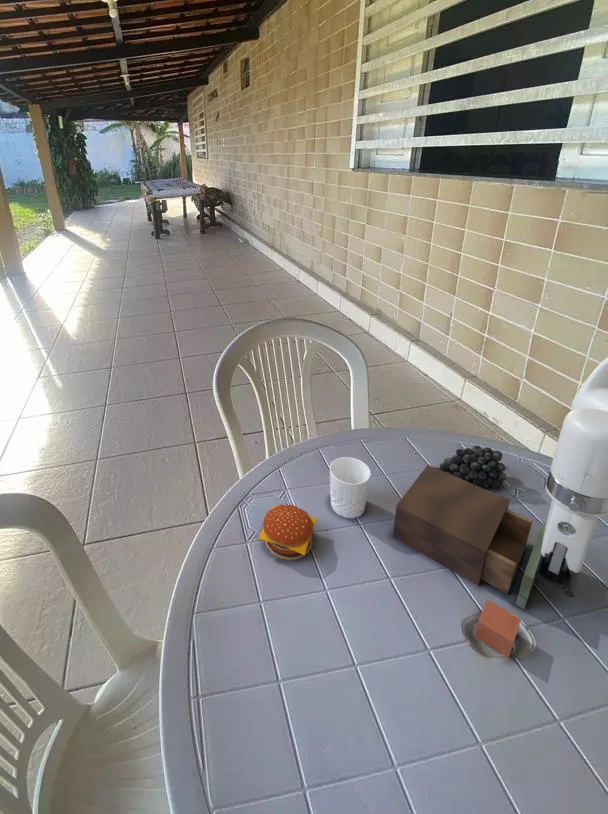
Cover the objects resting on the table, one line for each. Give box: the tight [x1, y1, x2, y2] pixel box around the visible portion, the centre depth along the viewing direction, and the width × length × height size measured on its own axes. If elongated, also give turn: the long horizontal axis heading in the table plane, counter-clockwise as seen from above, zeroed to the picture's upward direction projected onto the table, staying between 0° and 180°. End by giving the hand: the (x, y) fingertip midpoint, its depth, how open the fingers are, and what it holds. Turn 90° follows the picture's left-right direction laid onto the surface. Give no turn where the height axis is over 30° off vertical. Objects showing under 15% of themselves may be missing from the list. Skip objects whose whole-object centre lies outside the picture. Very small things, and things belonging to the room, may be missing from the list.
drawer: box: [480, 508, 581, 610], centre depth 72 cm, size 18×13×7 cm
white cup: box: [329, 456, 372, 519], centre depth 86 cm, size 8×8×10 cm
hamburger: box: [258, 504, 318, 561], centre depth 80 cm, size 9×10×7 cm
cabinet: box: [392, 464, 511, 587], centre depth 78 cm, size 15×15×9 cm
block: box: [474, 598, 522, 659], centre depth 62 cm, size 4×4×4 cm
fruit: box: [436, 445, 509, 489], centre depth 92 cm, size 9×8×15 cm
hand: (551, 577), depth 68 cm, fingers closed
